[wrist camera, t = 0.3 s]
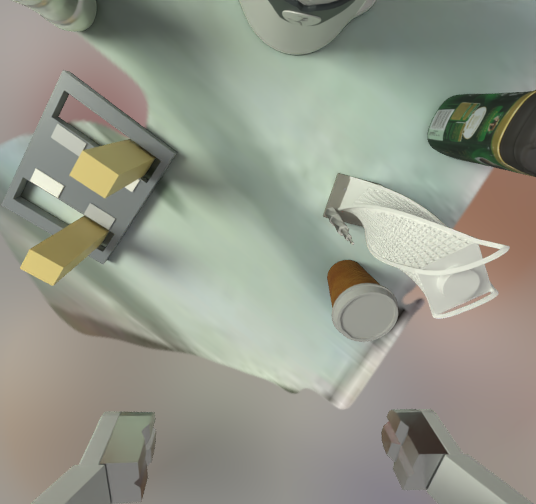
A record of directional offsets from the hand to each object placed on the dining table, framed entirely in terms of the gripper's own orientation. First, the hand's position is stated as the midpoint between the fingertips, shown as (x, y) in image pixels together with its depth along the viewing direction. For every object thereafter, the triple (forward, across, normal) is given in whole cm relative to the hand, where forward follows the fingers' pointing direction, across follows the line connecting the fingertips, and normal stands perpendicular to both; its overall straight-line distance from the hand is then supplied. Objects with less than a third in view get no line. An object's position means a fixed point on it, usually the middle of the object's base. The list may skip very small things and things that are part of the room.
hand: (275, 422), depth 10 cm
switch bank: (+40, +23, +1) cm, 46 cm away
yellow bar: (+41, +23, +9) cm, 48 cm away
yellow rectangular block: (+40, +16, -3) cm, 43 cm away
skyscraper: (+38, -17, 0) cm, 42 cm away
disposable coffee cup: (+39, -19, +14) cm, 45 cm away
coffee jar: (+37, -30, -12) cm, 49 cm away
